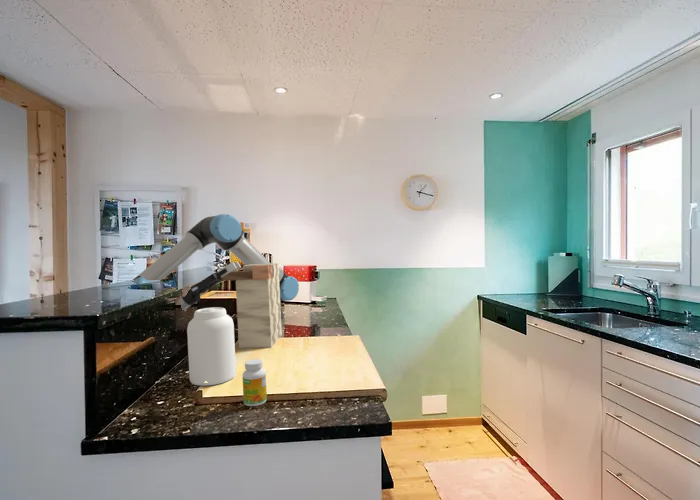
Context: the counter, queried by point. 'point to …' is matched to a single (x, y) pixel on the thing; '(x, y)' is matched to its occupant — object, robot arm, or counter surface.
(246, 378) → the supplement bottle
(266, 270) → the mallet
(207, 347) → the white jar
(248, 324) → the stand
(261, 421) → the counter surface
